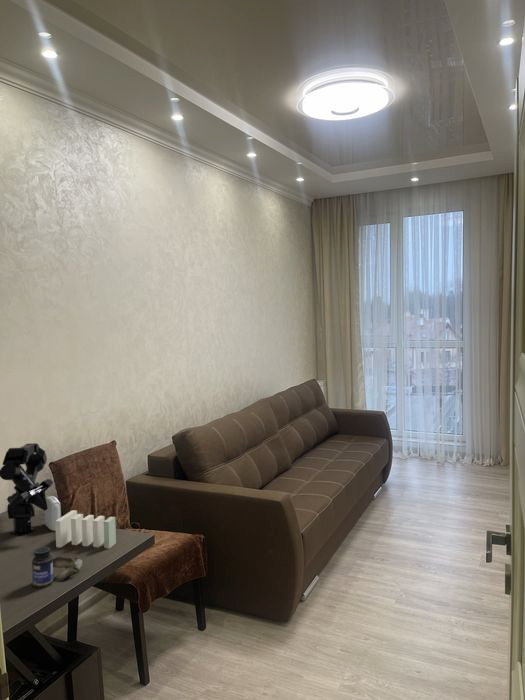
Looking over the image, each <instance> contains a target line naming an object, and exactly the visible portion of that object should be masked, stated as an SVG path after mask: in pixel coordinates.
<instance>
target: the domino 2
mask: <svg viewBox="0 0 525 700" xmlns="http://www.w3.org/2000/svg"><path fill="white" fill-rule="evenodd" d="M83 518H84V513H77V515H76V516H74V517H73V518H71V539H72V540H71V545H72V546H77V545H79V544H81V542H82V519H83Z"/></svg>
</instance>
